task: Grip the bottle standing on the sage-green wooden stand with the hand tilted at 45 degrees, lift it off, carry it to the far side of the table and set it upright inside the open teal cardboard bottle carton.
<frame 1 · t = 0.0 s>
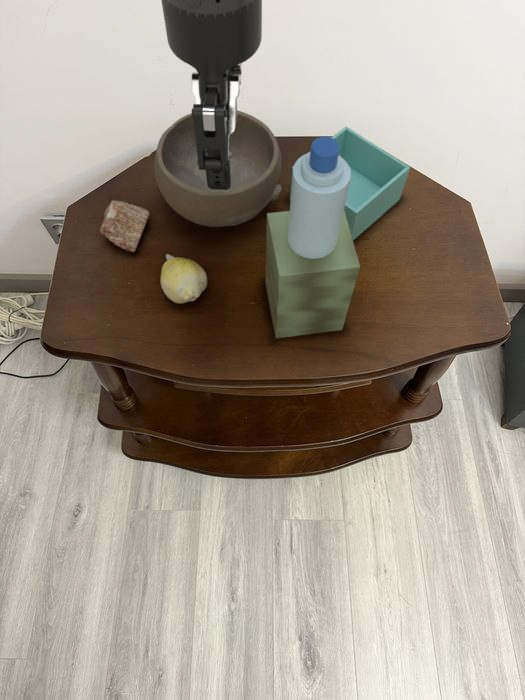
hand: (223, 155, 53), 23 cm above the table, tool pointing down, fingers open, 8 cm apart
bottle: (312, 239, 59), point 14 cm above the table, touching stand
stone: (126, 235, 77), on the table
bowl: (221, 200, 81), on the table
stand: (302, 305, 72), on the table
fruit: (181, 286, 73), on the table
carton: (344, 199, 81), on the table
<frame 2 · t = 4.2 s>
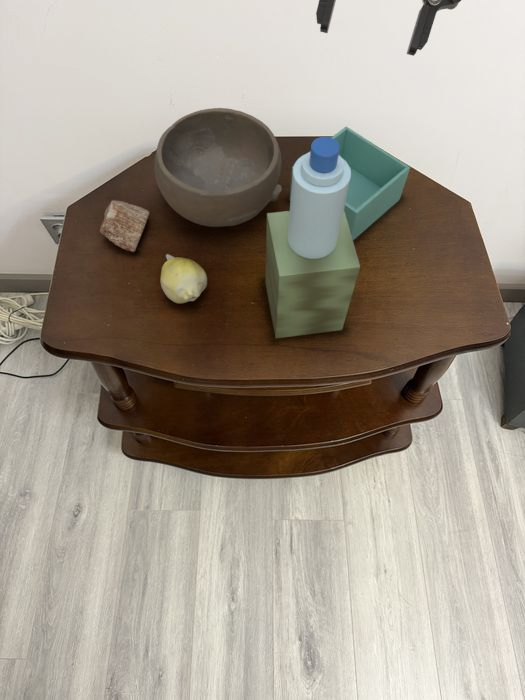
hand: (367, 42, 50), 30 cm above the table, tool tilted 45°, fingers open, 8 cm apart
nothing on the table moved.
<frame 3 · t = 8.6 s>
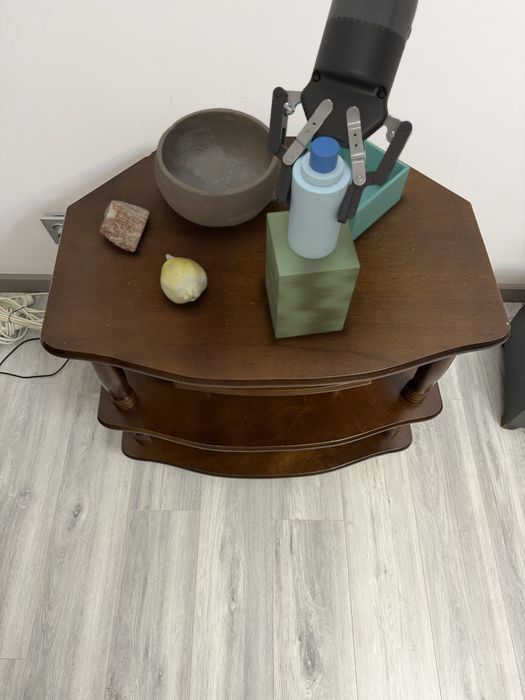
hand: (312, 213, 53), 20 cm above the table, tool tilted 45°, fingers closed on bottle, 5 cm apart
bottle: (312, 239, 59), point 14 cm above the table, touching gripper, stand
everything else where it was.
when the fingers open (7 cm above the table, at t = 20.6 s): bottle stays where it is, resting on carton.
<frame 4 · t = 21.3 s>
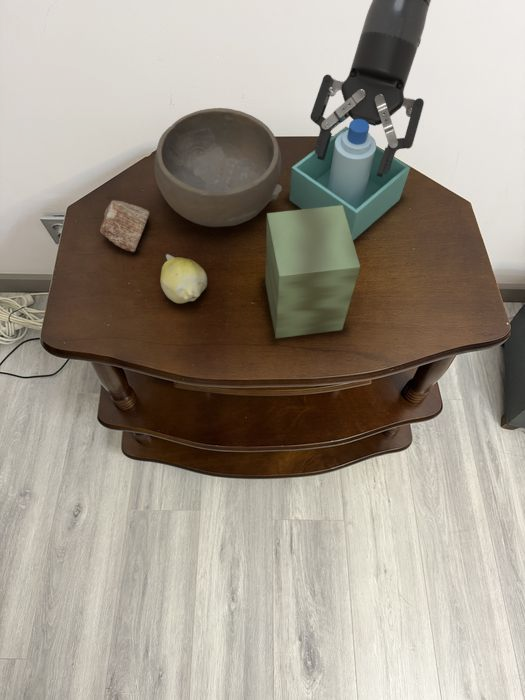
hand: (349, 168, 73), 8 cm above the table, tool tilted 45°, fingers open, 8 cm apart
bottle: (344, 197, 80), resting on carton
everything else where it was.
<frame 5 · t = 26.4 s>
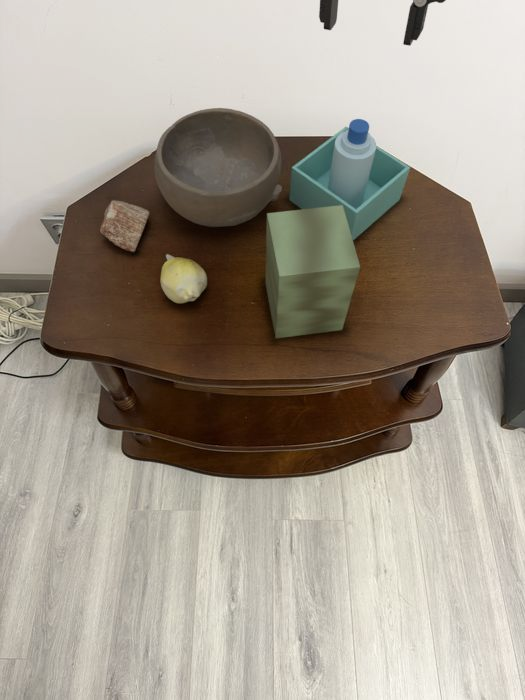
hand: (368, 34, 55), 27 cm above the table, tool pointing down, fingers open, 8 cm apart
nothing on the table moved.
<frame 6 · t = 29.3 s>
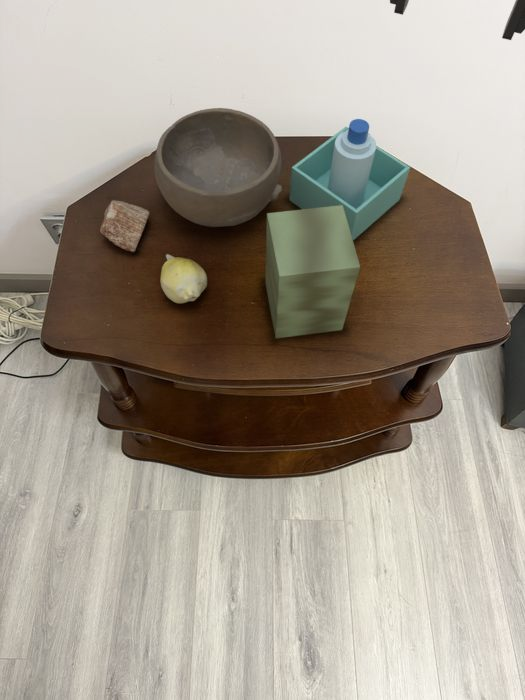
hand: (453, 21, 42), 36 cm above the table, tool pointing down, fingers open, 8 cm apart
nothing on the table moved.
at the end: bottle inside the target area in the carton (0.1 cm from its centre), point 0.5 cm above the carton's base; bottle tilted 0°; the gripper is holding nothing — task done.
